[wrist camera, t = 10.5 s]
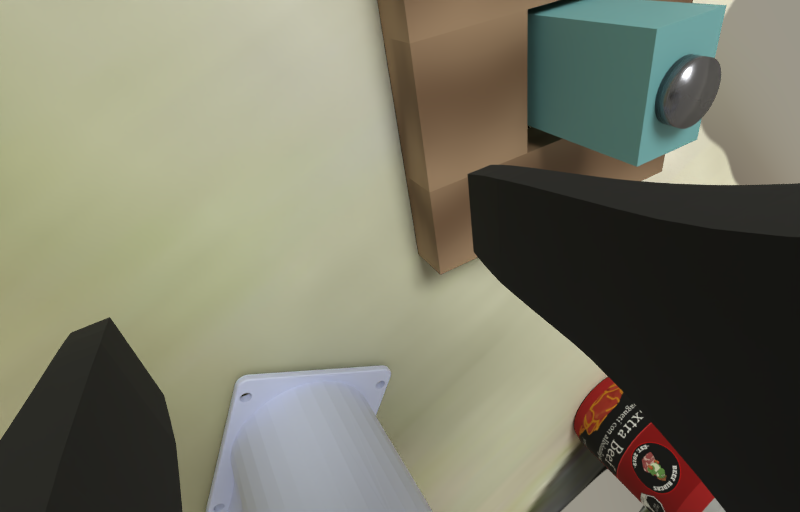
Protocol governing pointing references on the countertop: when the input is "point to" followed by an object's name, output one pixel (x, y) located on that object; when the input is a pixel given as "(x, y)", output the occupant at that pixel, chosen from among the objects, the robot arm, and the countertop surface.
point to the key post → (622, 73)
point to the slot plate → (470, 112)
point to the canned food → (639, 453)
